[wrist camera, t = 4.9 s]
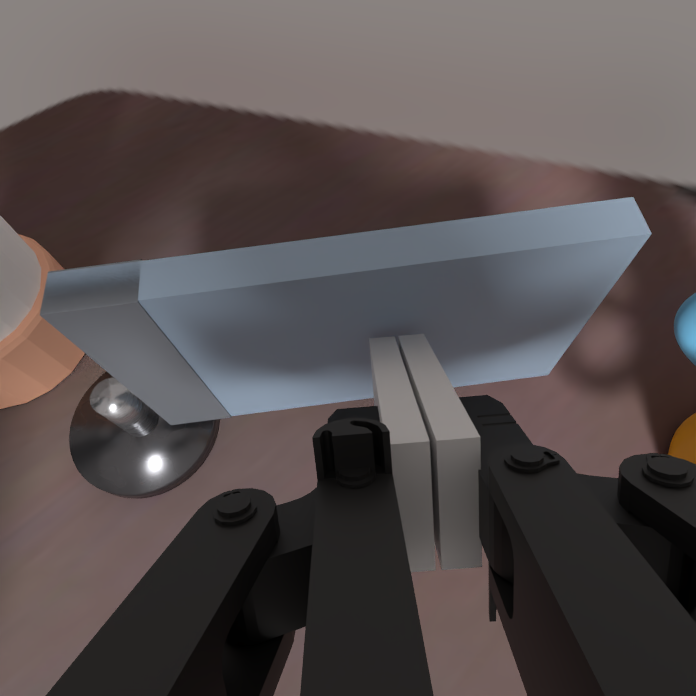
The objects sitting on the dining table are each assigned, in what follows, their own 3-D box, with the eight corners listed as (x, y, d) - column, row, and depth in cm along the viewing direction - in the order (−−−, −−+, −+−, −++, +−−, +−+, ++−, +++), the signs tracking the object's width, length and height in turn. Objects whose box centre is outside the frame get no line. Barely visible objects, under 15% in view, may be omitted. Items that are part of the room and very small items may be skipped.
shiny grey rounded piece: (67, 504, 20) (8, 485, 17) (92, 368, 23) (44, 330, 20) (215, 491, 20) (183, 471, 17) (222, 357, 23) (196, 316, 19)
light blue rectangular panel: (171, 425, 20) (39, 315, 12) (172, 394, 20) (48, 271, 13) (548, 376, 20) (652, 235, 12) (538, 347, 20) (632, 195, 13)
